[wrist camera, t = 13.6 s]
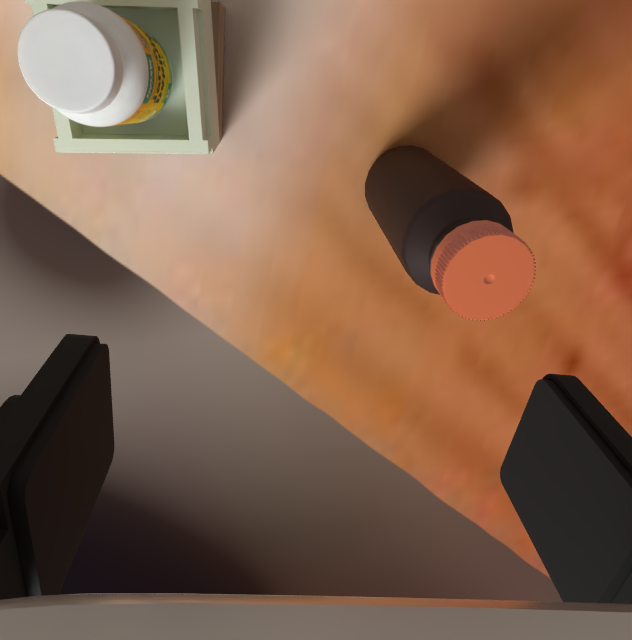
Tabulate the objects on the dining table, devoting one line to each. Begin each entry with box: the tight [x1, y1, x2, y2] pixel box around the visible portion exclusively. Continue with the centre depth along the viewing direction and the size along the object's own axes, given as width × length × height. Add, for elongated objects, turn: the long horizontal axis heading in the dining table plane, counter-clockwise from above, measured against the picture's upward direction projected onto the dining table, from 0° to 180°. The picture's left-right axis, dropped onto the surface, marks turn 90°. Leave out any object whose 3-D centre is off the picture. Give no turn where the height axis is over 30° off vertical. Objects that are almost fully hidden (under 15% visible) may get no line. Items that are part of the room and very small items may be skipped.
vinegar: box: [365, 146, 536, 321], centre depth 35 cm, size 7×7×20 cm
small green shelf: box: [25, 0, 220, 154], centre depth 32 cm, size 9×9×6 cm
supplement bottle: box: [18, 1, 173, 127], centre depth 26 cm, size 5×5×10 cm
